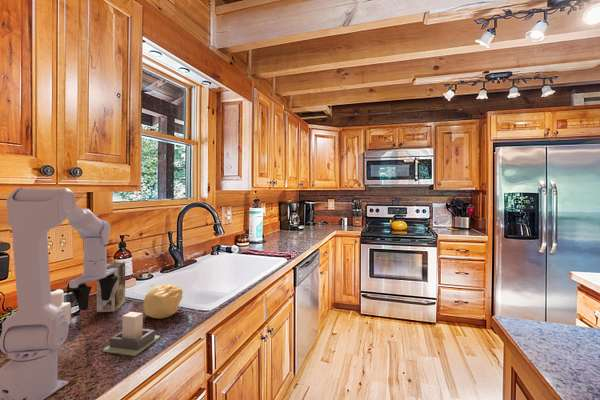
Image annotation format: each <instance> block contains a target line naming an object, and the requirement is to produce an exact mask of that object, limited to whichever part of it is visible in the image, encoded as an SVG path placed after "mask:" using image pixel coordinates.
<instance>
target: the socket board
mask: <svg viewBox="0 0 600 400" xmlns="http://www.w3.org/2000/svg"><path fill="white" fill-rule="evenodd" d="M160 339H161V335H157V334H156V329H150V328H149V329H148V328H143V331H142V337H140V338H139V339H129V338H122V331H120V332H118V333H116V334H114V335H113V336H111V337H110V338H109V342H108V343H109V345H108V346H106V347H104V348H103V349H102V352H103V353H110V354H111V353H112V354H119V355H126V356H135V357H136V356H137V355H139V354H140V353H141V352H142V351H145V350H146V349H147V348H149V347H150V346H151V345H152V344H154V343H155V342H156V341H158V340H160Z"/></svg>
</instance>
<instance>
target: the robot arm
mask: <svg viewBox="0 0 600 400" xmlns="http://www.w3.org/2000/svg"><path fill="white" fill-rule="evenodd" d="M6 208H7V209H6V210H7V223H8V227H9V228H11V234H12V235H11V236H12V249H13V250H12V251H13V260H14V261H13V262H14V263H13V264H14V273H15V275H14V276H15V288H16V289H15V290H16V300H17V301H16V302H17V310H16V311H15V312H13V313H11V314H10V315H9V316H7V317H6V318H5V320H4V321H3V322H2V323H1V328H2V329H1V334H0V350H1V352H2V353H3V354H5V355H6V354H7V359H10V360H9V361H8V362H7V363H6V364H4V365H3V366H1V367H0V400H45V399H47V398H48V397H50V396H51V395H53V394H54V393H56V392H57V391H59V390H60V389H62V388H63V387H65V386H67V385H68V384H69V381H67V380H62V379H58V363H59V362H58V361H59V359H58V358H59V357H58V348H60V349H61V347H62V346H63V344H64V343H66V340H67V337H68V335H69V327H70V326H69V325H70V324H69V325H68V322H67V321H66V318H65V314H64V310H63V309H61V308H59V307H58V306H56V305H54V304H53V303H51V276H50V274H51V273H50V261H49V260H50V259H49V246H48V233H49V231H50V230H52V229H54V228H58V227H59V226H60V225H61V224H63V222H64V221H65V220H66V219H67V220H68V223H69V226H71V227H72V228H73V229H75V230H77V233H78V234H79V237H80V239H82V240H83V261H82V262H83V263H82V264H83V268H82V269H83V273H82V274H81V275H80V276H77V277H76V278H74V279H71V280H68V283H69V285H68V286H69V288H68V289H69V292H71V293H72V294H73V296H74V298H75V300H76V303H77V306H78V310H80V311H81V310H82V311H86V310H88V308H89V299H90V294H91V293H90V292H91V291H92V288H93V287H92V286H88V285H87V284H89V283H92V282H95V281H96V282H97V280H99V283H100V287H101V298H102V300H105V301H108V300H109V299H110V295H111V292H112V289H113V287H114V285H115V283H116V281H117V280H118V276H114V275H117V269H116V268H111V269H107V263H108V262H107V261H108V260H107V259H108V255H107V254H108V252H107V251H108V249H107V248H108V245H107V244H109V241H110V235H111V230H112V228H111V224H110V222H109V221H107V220H106V219H100V218H99V217H98V216H96V215H95V213H93V212H92V211H91V209H90V208H81V207H80V206H79V205H78V204H77V203H76V195H75V193H74V192H73V191H72V190H71V189H69V188H67V187H66V188H63V187H62V188H43V187H42V188H41V187H39V188H34V187H31V188H30V187H21V186H20V187H17V188H16V189H14V190H13V191H12V192H11V194H10V195H9V196H8V197H7V198H6Z"/></svg>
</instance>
